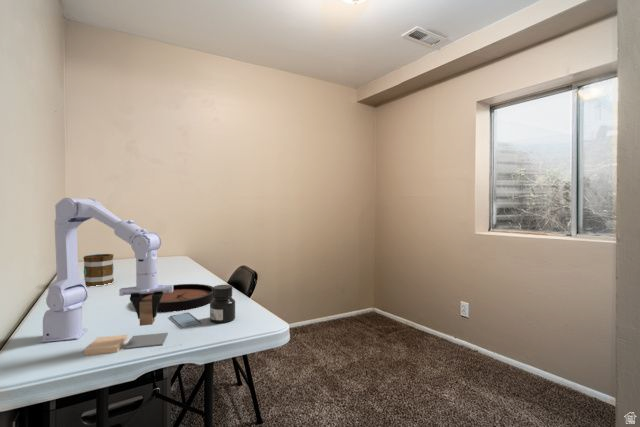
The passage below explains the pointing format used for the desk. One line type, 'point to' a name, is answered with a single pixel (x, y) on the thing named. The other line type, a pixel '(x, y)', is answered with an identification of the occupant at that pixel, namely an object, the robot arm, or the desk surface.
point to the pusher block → (146, 312)
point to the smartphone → (185, 320)
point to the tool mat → (146, 340)
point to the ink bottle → (222, 304)
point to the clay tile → (106, 345)
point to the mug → (98, 269)
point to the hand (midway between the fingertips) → (147, 317)
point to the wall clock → (184, 297)
